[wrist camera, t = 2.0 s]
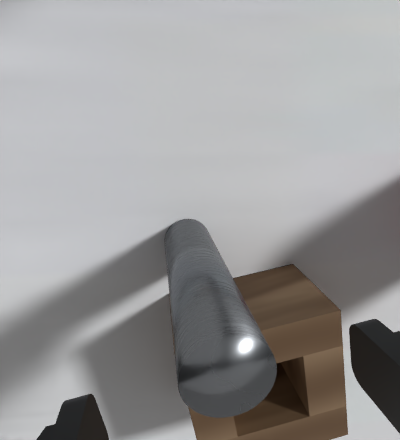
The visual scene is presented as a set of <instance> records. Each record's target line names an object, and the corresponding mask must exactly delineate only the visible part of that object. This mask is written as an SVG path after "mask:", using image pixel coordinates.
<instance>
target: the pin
mask: <svg viewBox="0 0 400 440" xmlns="http://www.w3.org/2000/svg"><path fill="white" fill-rule="evenodd" d="M165 252H166V262H167V273H168V284H169V294H170V305H171V316H172V326H173V337H174V348H175V358H176V369H177V380H178V388H179V392H180V395H181V397H182V399H183V401H184V402H185V403H186V405H187V406H189V407H190V408H191V409H192V410H194V411H195V412H197V413H199V414H201V415H204V416H208V417H215V418H225V417H232V416H236V415H239V414H242V413H244V412H247V411H249V410H250V409H252V408H254V407H255V406H257V405H258V404H259V403H260V402H261V401H263V399H264V398H265V397H266V396H267V395H268V393H269V392H270V391H271V389H272V387H273V385H274V382H275V379H276V374H277V365H276V360H275V358H274V355H273V353H272V351H271V349H270V347H269V346H268V344H267V342H266V340H265V338H264V336H263V334H262V332H261V330H260V329H259V327H258V325H257V323H256V321H255V319H254V317H253V315H252V313H251V312H250V310H249V308H248V306H247V304H246V302H245V300H244V298H243V296H242V295H241V293H240V291H239V289H238V287H237V285H236V283H235V281H234V279H233V278H232V276H231V274H230V272H229V270H228V268H227V266H226V264H225V262H224V261H223V259H222V257H221V255H220V253H219V251H218V249H217V247H216V245H215V244H214V242H213V240H212V238H211V236H210V234H209V232H208V230H207V229H206V227H205V226H204V225H203V224H202V223H200V222H199V221H196V220H193V219H183V220H180V221H177V222H176V223H174V224H173V225H172V226H171V227H170V228H169V229H168V231H167V233H166V235H165Z"/></svg>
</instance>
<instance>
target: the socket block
mask: <svg viewBox="0 0 400 440" xmlns="http://www.w3.org/2000/svg"><path fill="white" fill-rule="evenodd" d="M233 279H234V281H235V283H236V285H237V287H238V289H239V291H240V293H241V295H242V296H243V298H244V300H245V302H246V304H247V306H248V308H249V310H250V312H251V313H252V315H253V317H254V319H255V321H256V323H257V325H258V327H259V329H260V330H261V332H262V334H263V336H264V338H265V340H266V342H267V344H268V346H269V347H270V349H271V351H272V353H273V355H274V358H275V360H276V365H277V374H276V379H275V382H274V385H273V387H272V389H271V391H270V392H269V393H268V395H267V396H266V397H265V398H264V399H263V401H261V402H260V403H259V404H258V405H257V406H255V407H254V408H252V409H250V410H249V411H247V412H244V413H242V414H239V415H236V416H232V417H225V418H215V417H208V416H204V415H201V414H199V413H197V412H195V411H194V410H192V409H191V408H190V407H189V406H188V407H189V411H190V415H191V419H192V423H193V427H194V431H195V435H196V438H197V440H331V439H334V438H337V437H341V436H344V435H348V427H347V410H346V393H345V376H344V359H343V342H342V325H341V310H340V309H339V308H338V307H337V306H336V305H335V304H334V303H333V302H332V301H331V300H329V299H328V298H327V297H326V296H325V295H324V294H323V293H322V292H321V291H320V290H319V289H318V288H317V287H316V286H315V285H314V284H313V283H312V282H311V281H310V280H309V279H308V278H307V277H306V276H305V275H304V274H303V273H302V272H301V271H300V270H299V269H298V268H296V267H295V266H294V265H293V264H291V265H287V266H282V267H278V268H274V269H270V270H266V271H262V272H257V273H253V274H249V275H245V276H241V277H237V278H233ZM169 299H170V294H169ZM170 309H171V305H170ZM171 320H172V316H171ZM172 331H173V326H172ZM173 342H174V337H173ZM174 353H175V348H174Z"/></svg>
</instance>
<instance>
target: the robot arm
mask: <svg viewBox="0 0 400 440" xmlns="http://www.w3.org/2000/svg"><path fill="white" fill-rule="evenodd" d="M349 334H350V350H351V364H352V369H353V372H354V375H355V377H356V379H357V381H358V383H359V384H360V386H361V387H362V388H363V390H364V391H365V392H366V393H367V394H368V396H369V397H370V398H371V399H372V400H373V402H374V403H375V404H376V405H377V407H378V408H379V409H380V410H381V411H382V413H383V414H384V415H385V416H386V417H387V419H388V420H389V421H390V422H391V424H392V425H393V426H394V427H395V428H396V430H397V431H398V432H399V433H400V331H398V332H394V333H393V332H392V331H391V330H390V329H389V328H387V327H386V326H385V325H384V324H382V323H381V322H380V321H379V320H377V319H372V320H368V321H364V322H361V323H357V324H353V325H351V326H350V329H349ZM37 440H109V438H108V433H107V430H106V427H105V425H104V422H103V419H102V416H101V414H100V411H99V408H98V405H97V403H96V400H95V398H94V396H93V395H92V394H88V395H85V396H81V397H77V398H73V399H70V400H66V401H64V402H63V404H62V406H61V409H60V412H59V415H58V418H57V421H56V424H54V425H50V426H47V427H45V429H44V430H43V431H42V433H41V434H40V435H39V437H38V438H37Z"/></svg>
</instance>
